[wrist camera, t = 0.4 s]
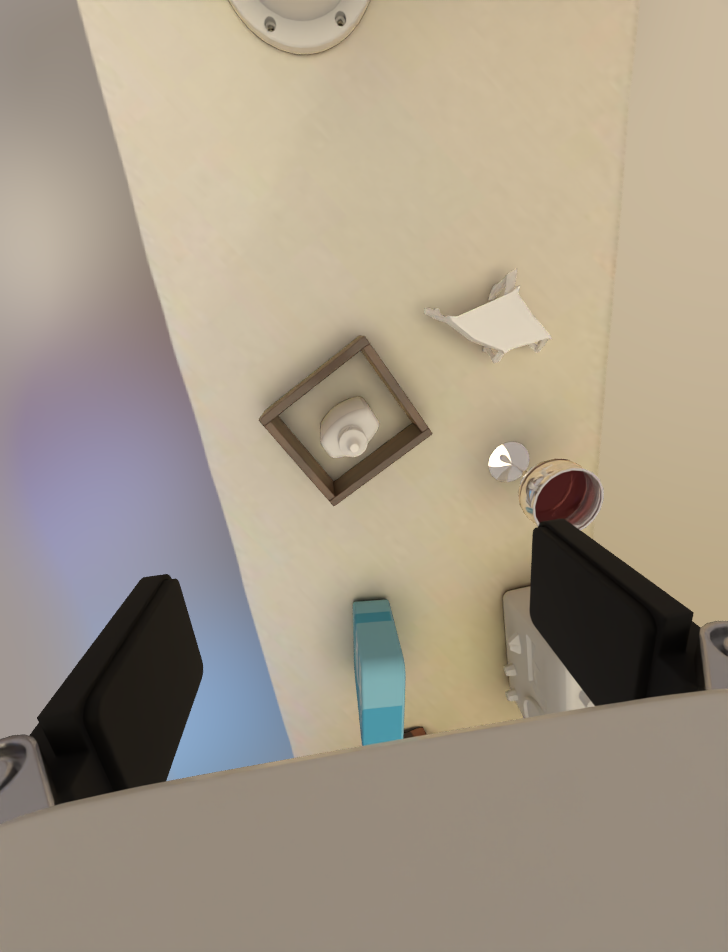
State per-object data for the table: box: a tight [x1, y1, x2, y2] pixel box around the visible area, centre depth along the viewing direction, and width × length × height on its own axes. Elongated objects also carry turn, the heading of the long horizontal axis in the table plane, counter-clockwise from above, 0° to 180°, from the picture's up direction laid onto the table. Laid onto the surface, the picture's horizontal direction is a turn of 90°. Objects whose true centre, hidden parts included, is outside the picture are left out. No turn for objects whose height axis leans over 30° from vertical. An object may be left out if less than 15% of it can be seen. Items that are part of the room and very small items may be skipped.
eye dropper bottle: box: [320, 396, 379, 458], centre depth 38 cm, size 4×6×12 cm
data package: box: [353, 599, 405, 746], centre depth 48 cm, size 12×4×12 cm, turn 0°
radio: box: [503, 586, 594, 718], centre depth 45 cm, size 22×8×25 cm, turn 11°
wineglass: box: [489, 442, 604, 530], centre depth 42 cm, size 7×7×12 cm
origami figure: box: [424, 269, 552, 363], centre depth 39 cm, size 12×8×5 cm
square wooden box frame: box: [259, 336, 432, 506], centre depth 41 cm, size 12×13×4 cm
